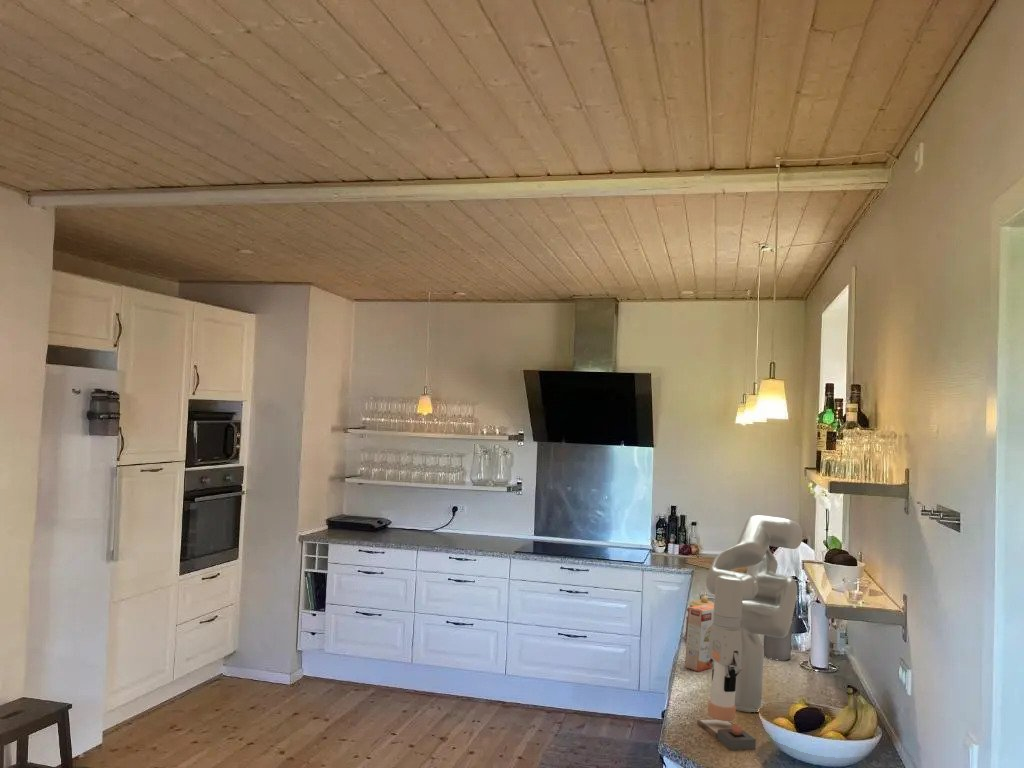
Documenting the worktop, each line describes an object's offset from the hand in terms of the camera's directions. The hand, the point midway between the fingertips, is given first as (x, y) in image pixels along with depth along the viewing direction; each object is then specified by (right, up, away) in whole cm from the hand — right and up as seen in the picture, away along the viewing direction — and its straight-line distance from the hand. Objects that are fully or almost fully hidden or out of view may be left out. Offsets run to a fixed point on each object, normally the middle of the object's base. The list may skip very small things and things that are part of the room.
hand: (723, 686), depth 213 cm
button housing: (+1, -11, -9) cm, 15 cm away
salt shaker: (-1, -8, 0) cm, 8 cm away
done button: (+1, -9, -9) cm, 13 cm away
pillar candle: (+40, -18, +73) cm, 85 cm away
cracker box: (+8, -15, +55) cm, 57 cm away
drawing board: (-1, -12, 0) cm, 12 cm away
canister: (+15, -17, +86) cm, 89 cm away
